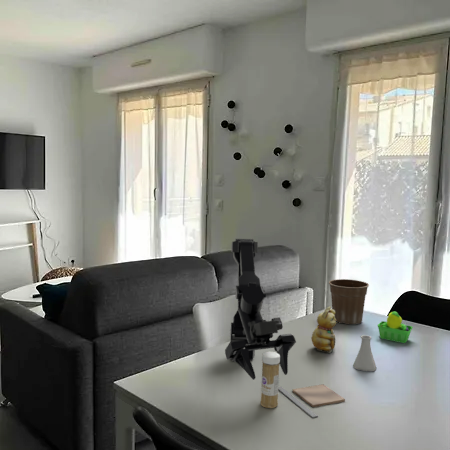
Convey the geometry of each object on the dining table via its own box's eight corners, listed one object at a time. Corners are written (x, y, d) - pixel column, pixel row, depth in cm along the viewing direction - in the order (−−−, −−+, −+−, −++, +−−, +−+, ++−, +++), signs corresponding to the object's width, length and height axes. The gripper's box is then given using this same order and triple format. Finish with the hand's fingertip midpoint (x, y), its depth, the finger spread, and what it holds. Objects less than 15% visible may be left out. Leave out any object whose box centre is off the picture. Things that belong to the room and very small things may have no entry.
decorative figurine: (333, 355, 160) (335, 311, 159) (308, 352, 163) (310, 309, 161) (336, 346, 169) (338, 305, 168) (313, 343, 172) (314, 302, 171)
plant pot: (345, 328, 192) (346, 288, 190) (319, 317, 206) (320, 280, 204) (375, 323, 199) (377, 285, 198) (348, 313, 213) (350, 278, 212)
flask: (377, 373, 146) (379, 341, 145) (353, 370, 148) (354, 339, 147) (375, 364, 153) (377, 334, 153) (351, 362, 155) (353, 332, 154)
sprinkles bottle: (256, 405, 123) (258, 354, 122) (267, 399, 127) (268, 349, 126) (271, 410, 120) (273, 358, 119) (281, 404, 124) (283, 354, 123)
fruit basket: (412, 339, 180) (414, 309, 179) (407, 346, 172) (409, 315, 171) (381, 333, 186) (383, 305, 185) (375, 339, 178) (376, 309, 177)
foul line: (276, 388, 134) (276, 387, 134) (281, 387, 134) (281, 386, 134) (312, 418, 117) (312, 416, 117) (317, 417, 118) (317, 415, 118)
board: (292, 391, 132) (292, 389, 132) (323, 386, 136) (323, 384, 136) (312, 407, 123) (312, 405, 123) (344, 401, 127) (345, 399, 127)
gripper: (230, 309, 122) (247, 367, 113) (293, 304, 130) (315, 358, 120) (218, 331, 130) (233, 386, 121) (278, 325, 138) (297, 376, 128)
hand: (270, 376), depth 123 cm, fingers open, 9 cm apart
